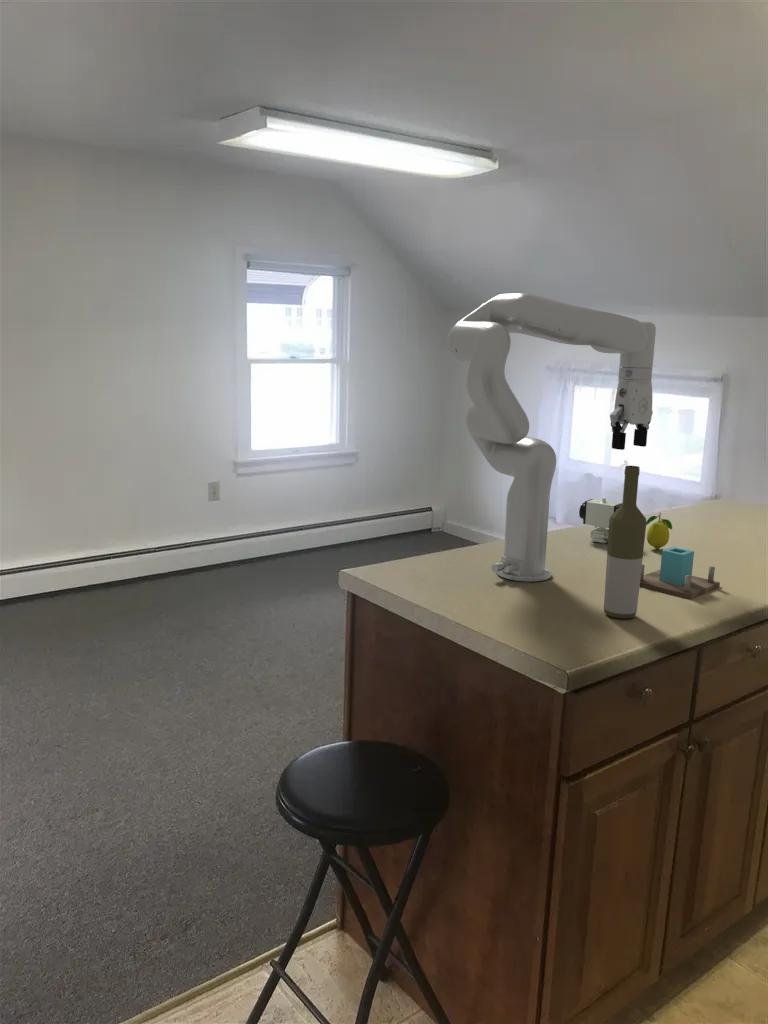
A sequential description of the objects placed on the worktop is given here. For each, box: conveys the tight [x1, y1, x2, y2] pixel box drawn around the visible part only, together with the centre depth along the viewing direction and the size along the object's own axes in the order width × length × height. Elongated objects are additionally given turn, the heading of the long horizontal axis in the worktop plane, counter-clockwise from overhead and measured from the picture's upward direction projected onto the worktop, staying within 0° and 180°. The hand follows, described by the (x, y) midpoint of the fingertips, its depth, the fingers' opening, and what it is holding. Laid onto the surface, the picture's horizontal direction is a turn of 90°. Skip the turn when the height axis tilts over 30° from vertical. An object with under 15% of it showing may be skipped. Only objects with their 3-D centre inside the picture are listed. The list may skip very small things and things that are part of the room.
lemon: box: [646, 512, 673, 550], centre depth 218 cm, size 7×6×10 cm
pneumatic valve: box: [578, 497, 623, 545], centre depth 225 cm, size 6×12×12 cm, turn 53°
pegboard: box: [640, 563, 721, 600], centre depth 188 cm, size 14×14×5 cm
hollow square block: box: [659, 546, 695, 586], centre depth 187 cm, size 5×5×7 cm
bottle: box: [603, 465, 647, 620], centre depth 164 cm, size 7×7×30 cm
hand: (629, 447), depth 201 cm, fingers open, 9 cm apart
